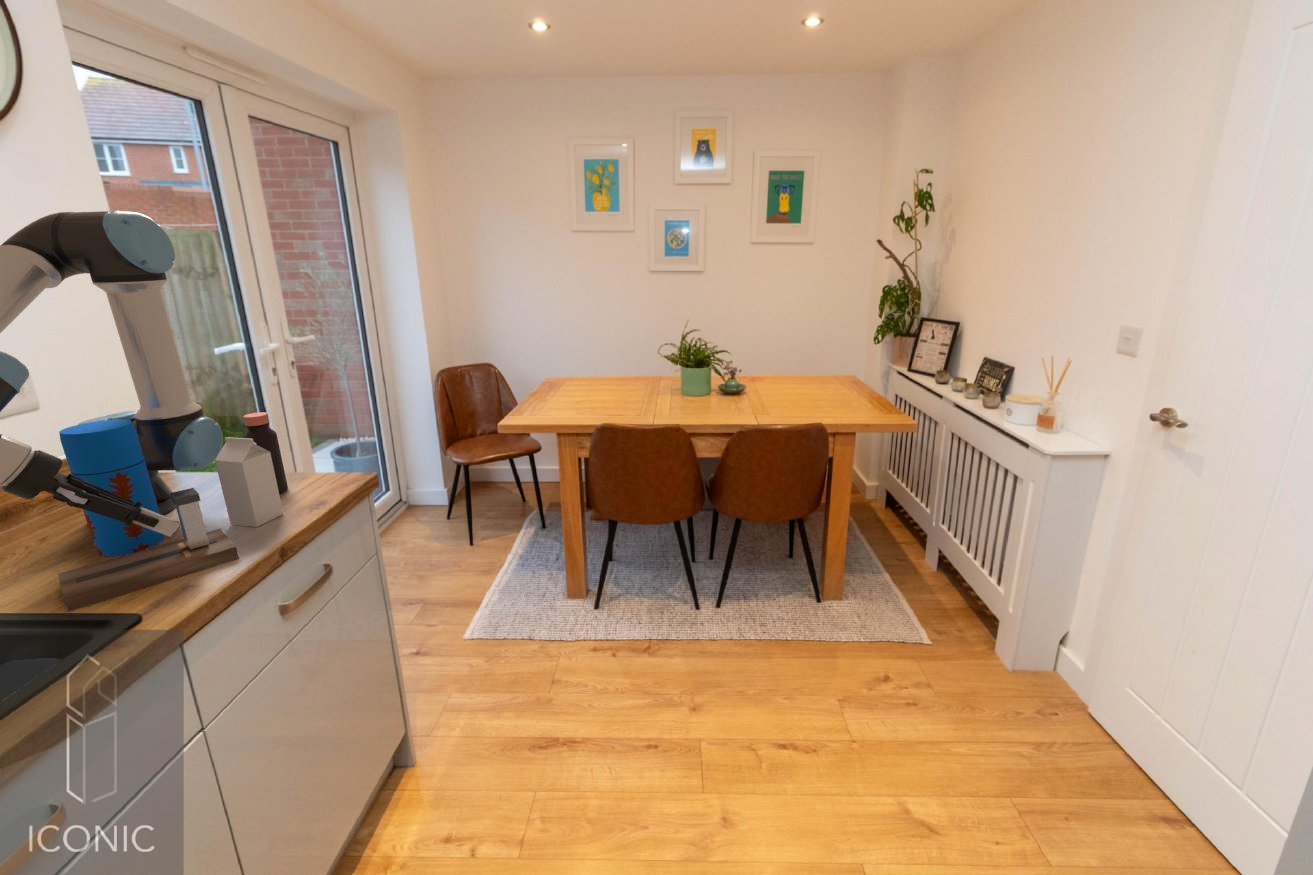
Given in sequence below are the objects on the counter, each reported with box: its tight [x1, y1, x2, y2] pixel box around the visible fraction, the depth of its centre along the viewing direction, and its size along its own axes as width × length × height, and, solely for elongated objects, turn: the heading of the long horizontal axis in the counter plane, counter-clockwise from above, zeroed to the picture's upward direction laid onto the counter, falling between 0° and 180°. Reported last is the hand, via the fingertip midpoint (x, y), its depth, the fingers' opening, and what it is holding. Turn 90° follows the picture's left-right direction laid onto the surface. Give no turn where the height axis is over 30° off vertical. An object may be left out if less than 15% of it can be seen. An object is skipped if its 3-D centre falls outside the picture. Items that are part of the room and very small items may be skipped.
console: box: [57, 528, 240, 612], centre depth 109 cm, size 12×24×3 cm, turn 137°
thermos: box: [58, 420, 166, 557], centre depth 117 cm, size 11×11×25 cm
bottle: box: [242, 411, 289, 495], centre depth 144 cm, size 7×7×20 cm
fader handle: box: [170, 487, 209, 549], centre depth 112 cm, size 5×4×10 cm
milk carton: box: [214, 436, 284, 528], centre depth 128 cm, size 7×7×19 cm
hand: (174, 529), depth 110 cm, fingers closed
